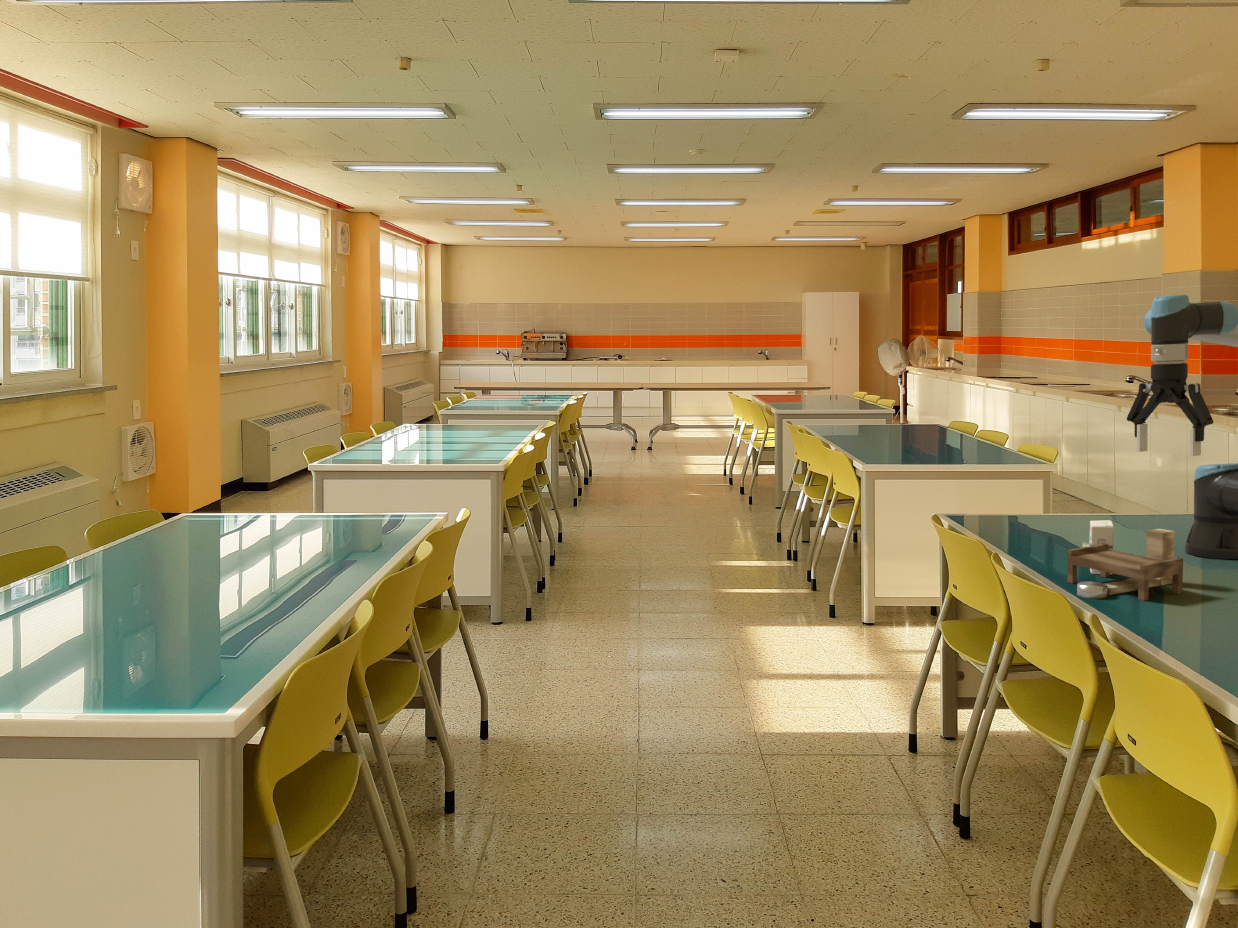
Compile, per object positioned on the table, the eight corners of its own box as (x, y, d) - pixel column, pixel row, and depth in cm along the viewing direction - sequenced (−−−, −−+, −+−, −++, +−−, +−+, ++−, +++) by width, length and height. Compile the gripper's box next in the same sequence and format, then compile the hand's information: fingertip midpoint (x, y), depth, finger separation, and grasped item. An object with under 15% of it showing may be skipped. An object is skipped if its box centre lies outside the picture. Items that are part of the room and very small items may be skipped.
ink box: (1088, 566, 245) (1089, 519, 243) (1110, 567, 243) (1111, 519, 242) (1090, 574, 237) (1091, 525, 235) (1113, 575, 235) (1114, 526, 234)
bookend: (1157, 579, 229) (1158, 528, 228) (1173, 582, 226) (1174, 531, 224) (1095, 591, 221) (1096, 538, 220) (1111, 595, 218) (1111, 541, 216)
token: (1091, 591, 222) (1091, 580, 222) (1113, 596, 217) (1113, 585, 216) (1071, 594, 220) (1071, 583, 220) (1092, 600, 215) (1092, 588, 214)
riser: (1104, 575, 235) (1104, 543, 234) (1182, 593, 217) (1183, 558, 216) (1067, 582, 230) (1067, 549, 229) (1143, 600, 212) (1144, 565, 211)
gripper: (1111, 363, 239) (1110, 450, 242) (1209, 363, 217) (1208, 459, 219) (1132, 362, 243) (1132, 448, 245) (1232, 361, 220) (1230, 456, 222)
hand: (1167, 453), depth 232 cm, fingers open, 13 cm apart
